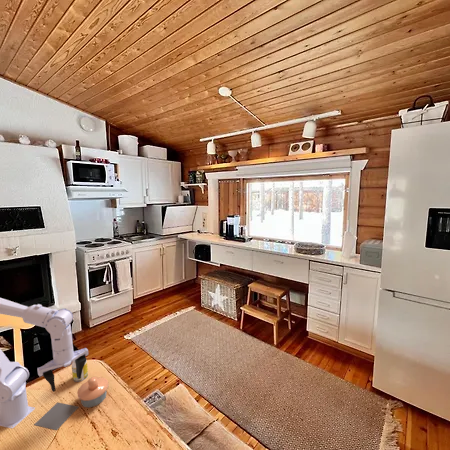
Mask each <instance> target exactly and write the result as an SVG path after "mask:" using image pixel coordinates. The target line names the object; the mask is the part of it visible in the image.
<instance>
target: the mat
mask: <svg viewBox="0 0 450 450" xmlns="http://www.w3.org/2000/svg"><path fill="white" fill-rule="evenodd" d="M78 408H79V406H78V405H77V406H76V405H72V404H68V403H62V402H56V403H55V404H54V405H52V407H51V408H50V409H49V410H48V411H47V412H45V414H43V416H41V417H40V418H39V419H38V420H37V421H36V422H35V423H34V424H33V425H34V426H37V427H41V428H45V429H50V430H53V431H58V430H59V429H60V428H61V427H62V426H63V424H65V422H66V421H67V420H68V419H69V418H70V417H71V416H72V415H73V414H74V412H76V410H77V409H78Z"/></svg>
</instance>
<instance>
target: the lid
mask: <svg viewBox="0 0 450 450" xmlns="http://www.w3.org/2000/svg"><path fill="white" fill-rule="evenodd" d="M108 388H109V380H108V379H107V378H105V377H97V376H93V377H90V378H89V379H88V380H87V381H85V382H83V383H82V384H81V385H80V386H79V387H78V389H77V397H78V399H79V400H80V401H81V400H83V401H89V400H93V399H96V398H98V397H100V396H101V395H102V394H104V393H105V392H107V390H108Z"/></svg>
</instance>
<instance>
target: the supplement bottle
mask: <svg viewBox="0 0 450 450" xmlns="http://www.w3.org/2000/svg"><path fill="white" fill-rule="evenodd" d="M71 374H72V380H73V382H75V383H80V382H83V381H84V380H86V379H87V378H88V377H89V369H88V360H87V359H86V363H85V365H84V367H83V370H82V374H81V378H80V379H78V377H77V374H76V363H75V360H74V361H73V362H71Z"/></svg>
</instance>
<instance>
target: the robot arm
mask: <svg viewBox="0 0 450 450" xmlns="http://www.w3.org/2000/svg"><path fill="white" fill-rule="evenodd" d="M0 315H4V316H5V315H6V316H11V317H17V318H21V319H22V321H23V322H24V323H25V324H28V325H29V324H30V325H33V326H38V327H41V328H45V330H46V331H47V332H48V333H49V334H50V339H51V350H52V358H53V359H52V360H50V361H48V362H47V363H45V364H44V365H42V366H40V367H37V375H38V376H39V377H42V376H43V378H44V379H45V380H46V381H47V383H49V385H50V388H51V391H52V392H53V393H54V392H56V389H57V388H56V383H55V374H54V372H53V370H56V369H58V368H61V367H63V368H67V367H68V366H72V363H73V361H74V360H75V363H76V374H77V377H78V379H80V378H81V374H82V370H83V367H84V365H85V363H86V360H87V356H88V355H89V349H88V348H87V347H84V348H81V349H78V350H74V345H73V343H74V342H73V333H72V326H71V323H72V322H73V319H74V314H73V312H72V311H71V310H69V309H67V308H60V309H56V308H53V309H52V308H50V307H46V306H43V305H42V304H40V303H37V304H33V305H30V306H28V305H24V304H20V303H18V302H16V301H15V302H14V301H11V300H9V299H6V298H2V297H0ZM29 377H30V372H29V370H28V368H27V367H25V366H23V365H22V364H20V362H19V361H10V360H9V358H8V357H7V356H6V354H5V353H4V352H3V350H2V349H1V348H0V427H4V428H8V429H14V428H15V427H16V426H17V425H19V423H21V422H22V421H23V420H24V419H26V417H28V416H29V415H30V414H31V413H32V412H34V410H35V409H36V407H33V406H30V405H29V402H28V397H27V396H28V395H27V394H28V393H27V388H26V385H27V382H26V381H27V380H28V379H29Z"/></svg>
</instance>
